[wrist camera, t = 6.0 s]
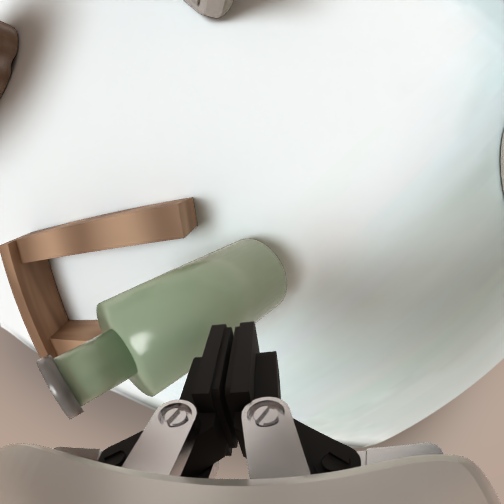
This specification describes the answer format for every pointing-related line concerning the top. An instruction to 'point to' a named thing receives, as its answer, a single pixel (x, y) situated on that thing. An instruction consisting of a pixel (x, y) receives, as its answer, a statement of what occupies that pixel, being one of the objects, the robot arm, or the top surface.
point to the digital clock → (210, 7)
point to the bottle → (166, 324)
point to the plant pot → (6, 52)
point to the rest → (76, 242)
